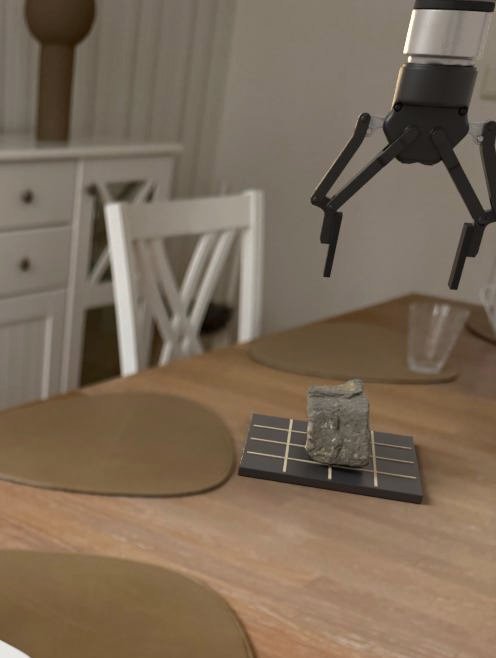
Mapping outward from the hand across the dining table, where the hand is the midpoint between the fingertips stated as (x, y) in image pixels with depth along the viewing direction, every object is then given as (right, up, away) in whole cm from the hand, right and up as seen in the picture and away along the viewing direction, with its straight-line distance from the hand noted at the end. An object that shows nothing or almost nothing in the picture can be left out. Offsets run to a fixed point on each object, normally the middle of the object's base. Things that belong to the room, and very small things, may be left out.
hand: (388, 281), depth 110 cm
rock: (-4, -18, +7) cm, 20 cm away
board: (-4, -19, +7) cm, 21 cm away
